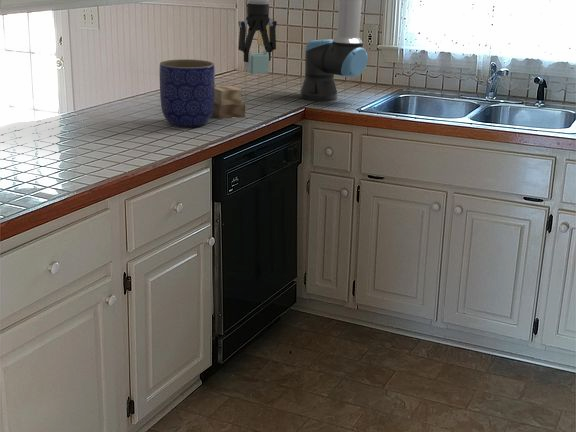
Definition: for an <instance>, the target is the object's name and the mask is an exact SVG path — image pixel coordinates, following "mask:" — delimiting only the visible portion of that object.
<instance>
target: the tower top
mask: <svg viewBox="0 0 576 432" xmlns="http://www.w3.org/2000/svg"><path fill="white" fill-rule="evenodd" d="M242 92H243V89H241V88H238V87H237V86H233V85H226V86H224V85H223V86H216V87H215V97H214V102H215V103H218V104H220V105H231V104H242V103H243V102H242V101H243V98H242V97H243V96H242V95H243V93H242Z"/></svg>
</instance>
